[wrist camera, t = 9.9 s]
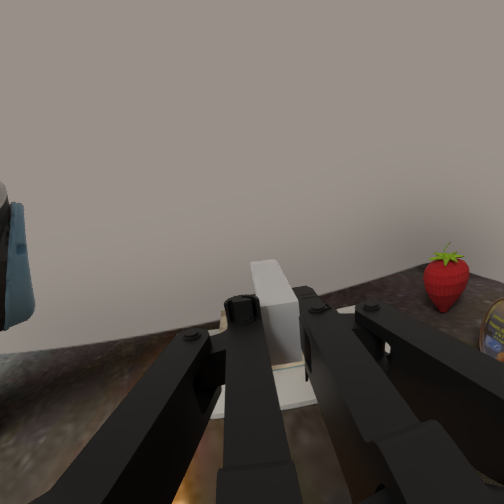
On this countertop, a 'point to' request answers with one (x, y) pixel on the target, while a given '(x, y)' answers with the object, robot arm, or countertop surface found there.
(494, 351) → the tin
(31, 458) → the countertop surface
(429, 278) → the strawberry
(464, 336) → the countertop surface
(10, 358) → the countertop surface
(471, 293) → the countertop surface
